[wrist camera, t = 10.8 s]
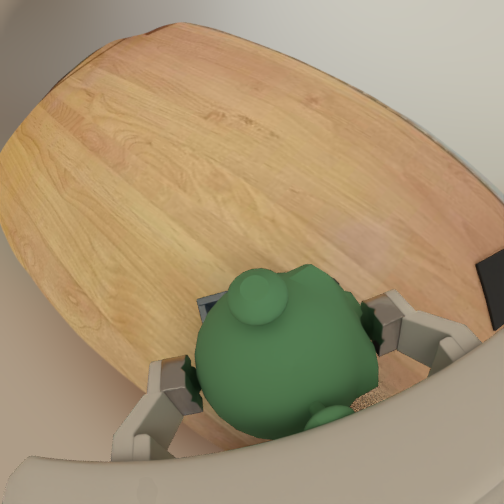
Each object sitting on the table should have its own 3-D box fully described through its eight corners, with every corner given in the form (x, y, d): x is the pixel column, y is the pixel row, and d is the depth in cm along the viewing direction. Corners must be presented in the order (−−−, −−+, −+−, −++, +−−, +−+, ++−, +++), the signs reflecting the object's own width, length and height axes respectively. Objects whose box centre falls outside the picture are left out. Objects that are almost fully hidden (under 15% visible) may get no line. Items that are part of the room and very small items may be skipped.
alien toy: (364, 365, 16) (475, 383, 6) (248, 429, 15) (239, 529, 5) (307, 264, 17) (365, 177, 8) (190, 325, 16) (109, 306, 7)
